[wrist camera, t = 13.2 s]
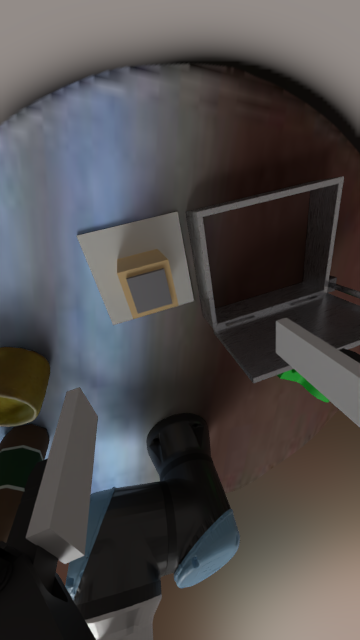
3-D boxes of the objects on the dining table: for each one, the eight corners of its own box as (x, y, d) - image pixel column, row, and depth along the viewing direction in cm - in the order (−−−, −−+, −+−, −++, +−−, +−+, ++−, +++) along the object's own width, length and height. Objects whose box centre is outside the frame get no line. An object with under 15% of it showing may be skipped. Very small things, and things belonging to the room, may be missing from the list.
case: (203, 320, 40) (253, 384, 25) (185, 211, 31) (246, 213, 16) (312, 287, 43) (413, 326, 28) (324, 178, 34) (480, 154, 19)
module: (130, 297, 34) (133, 321, 27) (117, 259, 31) (116, 274, 24) (166, 286, 35) (179, 307, 27) (157, 248, 32) (169, 260, 24)
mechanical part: (321, 361, 55) (350, 383, 48) (307, 379, 57) (334, 403, 50) (288, 352, 50) (315, 375, 43) (274, 372, 52) (298, 397, 45)
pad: (113, 323, 36) (113, 325, 35) (77, 235, 29) (76, 235, 28) (192, 299, 38) (194, 301, 37) (176, 211, 31) (177, 211, 30)
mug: (10, 331, 28) (-14, 414, 23) (68, 355, 37) (60, 419, 32) (-58, 353, 30) (-94, 432, 26) (11, 371, 39) (-5, 433, 34)
